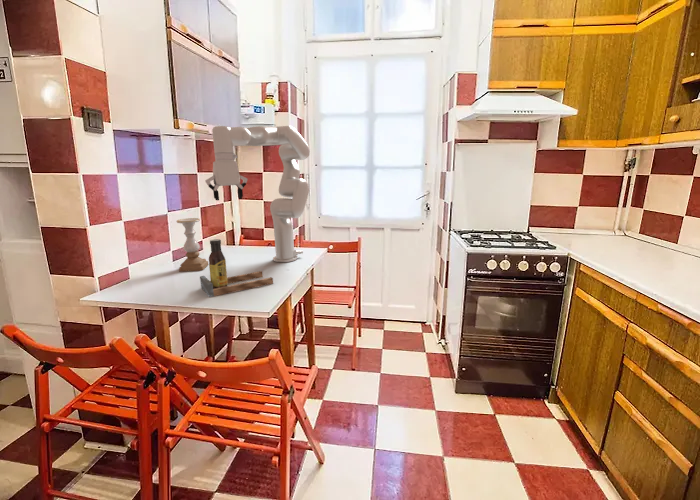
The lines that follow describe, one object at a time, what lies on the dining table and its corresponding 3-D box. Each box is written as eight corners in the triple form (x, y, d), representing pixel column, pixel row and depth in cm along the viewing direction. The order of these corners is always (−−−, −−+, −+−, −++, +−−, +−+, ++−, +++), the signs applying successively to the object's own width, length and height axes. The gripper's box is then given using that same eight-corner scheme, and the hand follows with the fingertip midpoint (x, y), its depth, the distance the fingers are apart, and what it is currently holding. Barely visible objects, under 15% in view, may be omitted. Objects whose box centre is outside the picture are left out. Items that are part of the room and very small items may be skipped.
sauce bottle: (222, 291, 143) (217, 242, 138) (208, 291, 144) (202, 241, 140) (231, 286, 149) (226, 238, 145) (217, 285, 151) (212, 238, 146)
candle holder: (208, 264, 185) (203, 217, 180) (202, 270, 174) (196, 220, 169) (186, 265, 184) (179, 218, 178) (178, 271, 173) (172, 221, 168)
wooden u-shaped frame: (261, 276, 163) (260, 265, 162) (273, 283, 152) (272, 272, 151) (201, 288, 149) (199, 276, 148) (209, 297, 138) (208, 284, 137)
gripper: (242, 157, 159) (245, 197, 163) (200, 158, 150) (205, 200, 154) (248, 157, 153) (251, 198, 157) (205, 157, 144) (210, 201, 148)
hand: (228, 199), depth 155 cm, fingers open, 9 cm apart
